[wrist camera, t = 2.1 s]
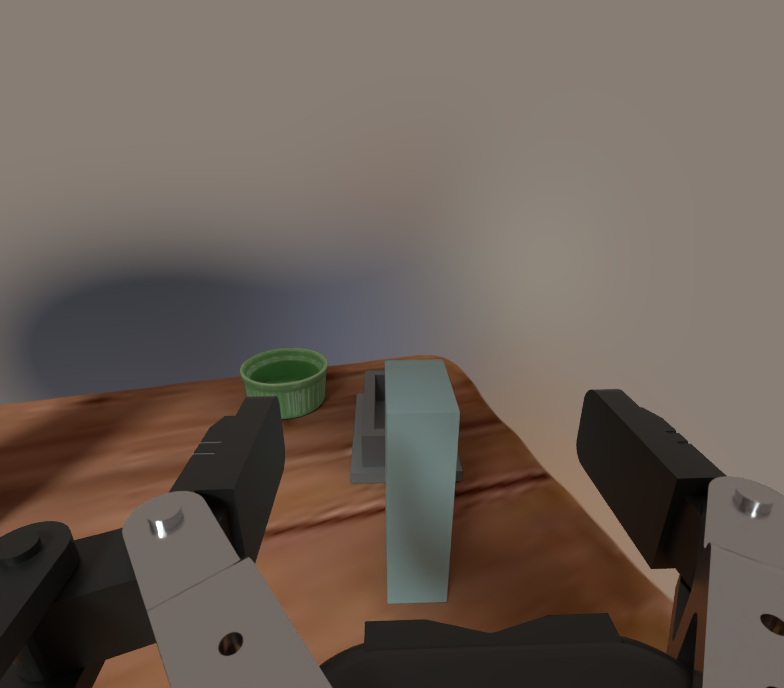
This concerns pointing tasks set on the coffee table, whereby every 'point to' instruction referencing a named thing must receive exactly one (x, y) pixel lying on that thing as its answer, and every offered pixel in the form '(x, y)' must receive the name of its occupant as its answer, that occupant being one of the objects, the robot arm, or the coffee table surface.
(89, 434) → the coffee table surface
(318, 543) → the coffee table surface
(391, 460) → the tall teal prism
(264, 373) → the ramekin
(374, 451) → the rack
